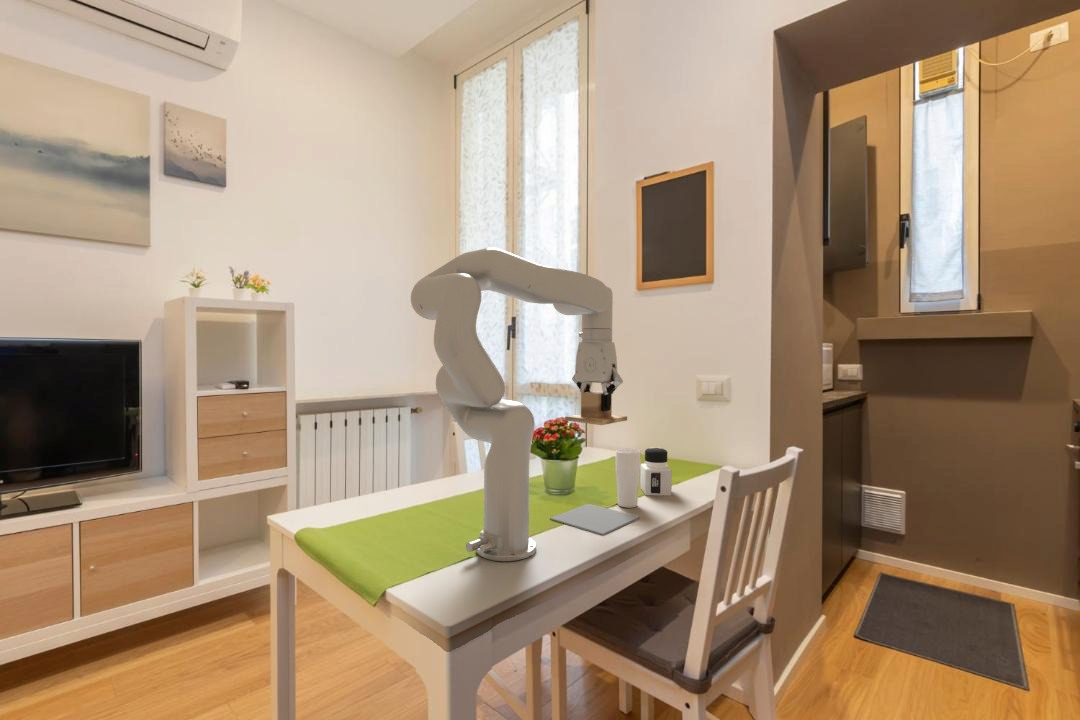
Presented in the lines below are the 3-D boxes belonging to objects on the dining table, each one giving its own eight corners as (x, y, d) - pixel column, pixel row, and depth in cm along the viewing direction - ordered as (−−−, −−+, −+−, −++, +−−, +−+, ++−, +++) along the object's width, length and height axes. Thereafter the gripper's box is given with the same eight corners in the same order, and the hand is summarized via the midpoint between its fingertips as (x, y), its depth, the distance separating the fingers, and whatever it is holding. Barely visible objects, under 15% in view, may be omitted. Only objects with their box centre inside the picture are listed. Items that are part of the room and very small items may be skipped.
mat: (602, 535, 118) (602, 533, 118) (549, 519, 129) (549, 517, 129) (639, 518, 130) (639, 516, 130) (588, 505, 141) (588, 503, 141)
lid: (601, 425, 121) (601, 395, 121) (565, 420, 129) (565, 392, 128) (627, 420, 129) (627, 392, 129) (591, 416, 137) (591, 389, 137)
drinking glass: (639, 502, 144) (639, 448, 143) (641, 509, 137) (642, 453, 137) (614, 501, 144) (614, 447, 144) (615, 508, 138) (616, 452, 137)
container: (671, 496, 150) (672, 451, 150) (645, 495, 150) (645, 451, 150) (665, 488, 158) (666, 446, 157) (640, 488, 158) (640, 446, 158)
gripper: (560, 336, 131) (560, 408, 132) (617, 336, 120) (616, 414, 120) (578, 337, 137) (578, 405, 137) (634, 336, 125) (634, 411, 126)
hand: (596, 408), depth 129 cm, fingers closed on lid, 5 cm apart
